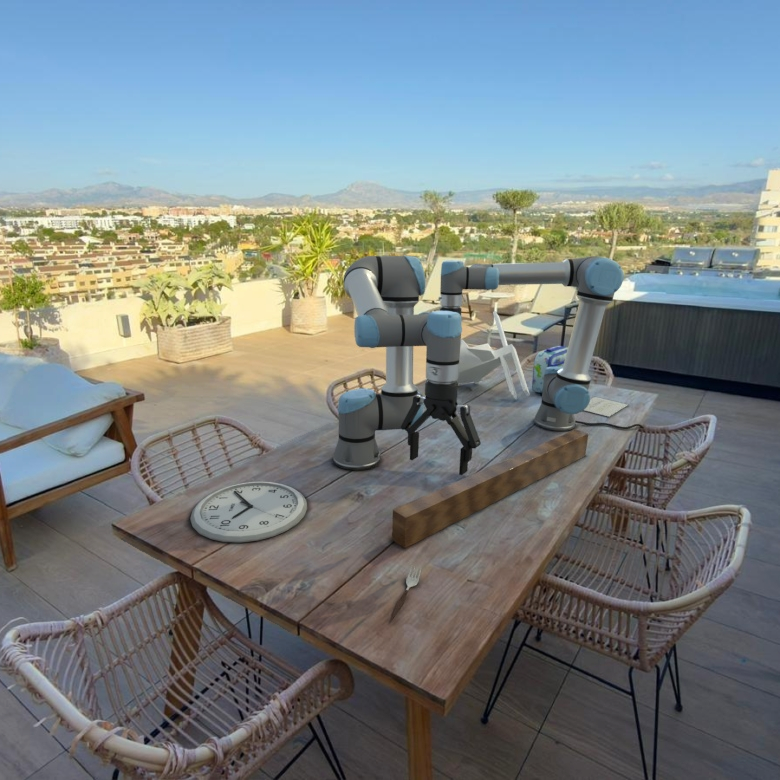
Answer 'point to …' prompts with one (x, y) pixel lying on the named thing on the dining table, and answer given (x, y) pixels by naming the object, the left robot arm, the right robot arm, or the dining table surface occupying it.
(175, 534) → the dining table surface
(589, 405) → the invitation card
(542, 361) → the lunch box
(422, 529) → the beam
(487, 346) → the white plastic object
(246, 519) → the wall clock
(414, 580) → the fork
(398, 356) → the left robot arm
